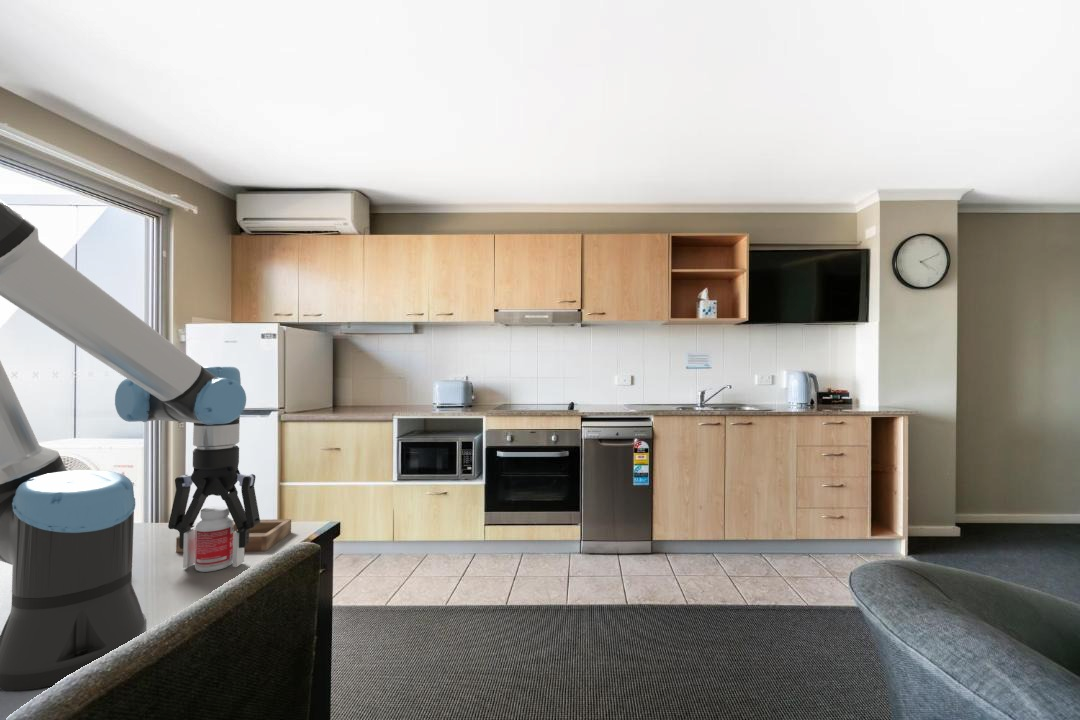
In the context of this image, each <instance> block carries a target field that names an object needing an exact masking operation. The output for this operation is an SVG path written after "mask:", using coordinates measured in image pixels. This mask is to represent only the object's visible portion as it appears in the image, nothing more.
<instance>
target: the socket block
mask: <svg viewBox="0 0 1080 720" xmlns="http://www.w3.org/2000/svg"><path fill="white" fill-rule="evenodd" d="M232 520H233V519H232ZM233 523H234V530H233V532H235V531H237V530H238V529H237V527H236V525H235V522H234V520H233ZM193 529H196V527H195V528H194V527H193ZM291 533H292V519H291V518H290V519H287V518H286V519H284V518H283V519H279V518H277V519H275V518H274V519H260V523H259V524H258V525H256V526H254V527H253V528H250V529H249V544H248V545H247V546H246V547H244V552H266V551H268V550H269V549H271V548H272V547H273V546H275V545H277V543H278V542H280V541H281V540H283V539H284V538H286V537H287V536H288V535H289V534H291ZM175 542H176V543H175V545H176V546H175V547H176V548H175V551H176V552H175V553H183V549H180V547H179V536H177V537H176V541H175Z"/></svg>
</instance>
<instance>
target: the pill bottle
mask: <svg viewBox="0 0 1080 720" xmlns="http://www.w3.org/2000/svg"><path fill="white" fill-rule="evenodd" d="M229 515H230V511H229V509H228V507H227V505H215V506H208V507H204V508H201V510H200V516H199V517H200V519H201V520H200V521H199V522H197V524H196V526H195V528H196V530H195V531H196V532H195V563H194V569H195V570H196V571H198V572H201V573H205V572H207V573H208V572H215V571H216V572H217V571H220V570H223V569H227V568H228V567H229V566H231V565H233V530H234V523H233V518H232V517H229Z"/></svg>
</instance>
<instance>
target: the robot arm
mask: <svg viewBox="0 0 1080 720" xmlns="http://www.w3.org/2000/svg"><path fill="white" fill-rule="evenodd" d="M0 296H1V297H2V298H3V299H5V300H6V301H8V302H9V303H11V304H12V305H14V306H15V307H17V308H19V309H20V310H22V311H23V312H25V313H26V314H28V315H29V316H31V317H33V318H34V319H36V320H37V321H39V322H41V324H43V325H44V326H47V328H49V329H51V330H52V331H54V332H56V333H57V334H59V335H60V336H62V337H63V338H65V339H66V340H67V341H69V342H71V343H73V345H75V346H77V347H79V348H80V349H82V350H83V351H84V352H87V354H89V355H90V356H92V357H93V358H95V359H97V360H98V361H100V362H101V363H103V364H105V365H106V366H107V367H109V368H111V369H112V370H114V372H116V373H119V374H120V375H121V376H123V377H124V378H125V379H124V380H122V381H121V382H120V383H119V384H118V386H117V388H116V391H115V394H114V405H115V410H116V412H117V415H118V417H120V418H121V419H122V420H124V421H126V422H128V423H131V422H142V423H147V422H151V421H167V422H178V423H192V424H193V429H192V430H193V432H192V434H193V435H192V436H193V437H192V445H193V446H194V447H196V448H194V449H193V450H192V468H193V471H192V473H191V474H190V475H188V474H184V475H180V476H177V477H176V478H175V479H174V483H175V493H174V498H173V501H172V507H171V511H170V515H169V520H168V524H167V527H168V529H169V530H176V531H178V533H179V536H178V537H179V547H180V549H183V552H182V560H183V561H182V568H183V569H187V568H189V567H191V566H193V565H195V532H196V531H195V530H196V529H194V527H195V525H194V524H195V522H196V520H197V518H198V516H199V514H200V513H201V510H202V509H203V506H204V504H205V502H206V500H207V498H208V497H209V496H217V497H220V498H221V499H222V500H223V501H224V503H225V506H227V507H228V509H229V511H230V513H229V515H230V516H231V519H232V520H234V522H235V525H236V527H237V529H238V530H237V531H235V532H233V562H232V568H238V567H239V566H240V565H241V564H243V563H244V562H245V551H244V547H246V546H247V545H248V544H249V529H250V528H253V527H254V526H256V525H258V524H259V523H260V520H261V519H260V512H259V508H258V502H257V501H258V500H257V496H256V495H257V494H256V490H255V483H256V475H255V474H254V473H251V474H242V473H241V472H240V470H239V464H240V447H239V446H238V444H239V442H240V419H241V418H240V417H241V414H243V412H244V411H245V408H246V405H247V394H246V390H245V389H244V388H243V386H242V385H241V384H242V383H241V379H242V378H241V371H240V370H239V369H238V368H237V367H235V366H202V365H201V364H199V363H198V361H197V362H196V361H195V360H194V359H193V358H191V356H189V355H187V354H186V353H185V352H184V351H182V350H181V349H180V348H179V347H177V346H176V345H175V344H174V343H172V342H171V341H169V340H168V339H167V338H165V336H163V335H162V334H160V333H159V332H158V331H157V330H156V329H154V328H153V327H151V326H150V325H149V324H148V323H146V322H145V321H144V320H142V319H141V318H140V317H138V316H137V315H136V314H135V313H133V312H132V311H131V310H129V309H128V308H127V307H126V306H124V305H123V304H122V303H121V302H119V301H118V300H116V299H115V298H114V297H113V296H111V295H110V294H108V293H107V292H106V291H105V290H103V289H102V287H100V286H99V285H97V284H95V283H94V282H93V281H92V280H90V279H89V278H88V277H87V276H85V275H83V273H81V272H80V271H79V270H78V269H76V268H75V267H74V266H73V265H71V264H69V263H68V262H67V261H66V260H65V259H63V258H62V257H61V256H59V255H58V254H57V253H55V252H54V251H53V250H52V249H50V248H49V247H48V246H46V245H45V244H44V243H43V242H42V241H40V239H39V230H38V227H36V226H35V225H34V224H33V223H31V222H30V221H29V220H27V219H26V218H25V217H24V216H22V214H20V213H18V212H17V211H16V210H15V209H14V208H12V207H11V206H9V205H8V204H7V203H6V202H5V201H3V200H2V199H0ZM237 482H239V485H238V486H240V487H241V496H242V502H243V504H242V502H241V500H240V497H239V496H238V495H239V494H238V493H239V492H238V490H237V487H236V484H237ZM192 484H194V486H195V487H196V489H195V491H194V493H193V495H192V500H191V502H190V504H189V506H188V502H189V497H190V493H191V486H192ZM134 493H135V492H134V484H133V482H132V480H131V479H130V478H129V477H128V476H127V475H124V474H122V473H119V472H115V471H110V470H93V469H75V470H67V468H66V465H65V463H64V462H63V460H62V457H61V455H60V453H59V451H58V450H55V449H51V448H47V447H44V446H42V445H40V444H39V441H38V440H37V438H36V435H35V432H34V430H33V427H32V426H31V424H30V422H29V420H28V418H27V415H26V413H25V410H24V409H23V407H22V404H21V401H20V400H19V398H18V396H17V393H16V392H15V390H14V388H13V385H12V383H11V381H10V378H9V377H8V375H7V372H6V370H5V368H4V365H3V364H2V361H1V360H0V562H1V563H2V562H3V563H5V564H8V565H11V566H12V572H11V574H12V575H11V576H12V577H11V579H12V580H11V607H10V608H11V609H10V612H9V615H8V617H7V620H6V622H5V624H4V626H3V629H2V630H1V632H0V690H2V691H3V690H4V691H26V690H35V689H36V690H37V689H41V688H47V687H52V686H55V685H54V684H55V683H57V682H58V681H60V680H61V679H63V678H64V677H66V676H67V675H69V674H71V673H73V672H75V671H76V670H78V669H80V668H81V667H83V666H85V665H87V664H89V663H91V662H92V661H94V660H96V659H98V658H100V657H102V656H104V655H105V654H107V653H109V652H110V651H112V650H114V649H116V648H118V647H119V646H121V645H123V644H125V643H127V642H128V641H130V640H132V639H133V638H135V637H137V636H139V635H140V634H142V633H144V632H145V631H146V632H147V624H148V623H147V618H146V616H145V613H143V610H142V606H141V605H140V602H139V600H138V597H137V594H136V591H135V589H134V587H133V581H132V580H133V577H132V576H133V575H132V574H133V553H134V552H133V551H134V549H133V548H134V547H133V546H134V525H135V523H134V522H135V520H134V519H135V509H136V498H135V494H134ZM187 506H188V507H187Z"/></svg>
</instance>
